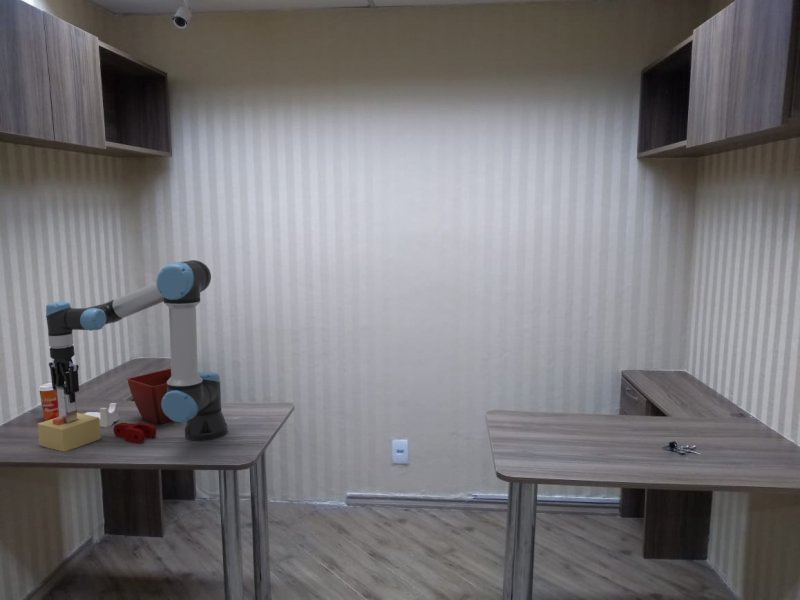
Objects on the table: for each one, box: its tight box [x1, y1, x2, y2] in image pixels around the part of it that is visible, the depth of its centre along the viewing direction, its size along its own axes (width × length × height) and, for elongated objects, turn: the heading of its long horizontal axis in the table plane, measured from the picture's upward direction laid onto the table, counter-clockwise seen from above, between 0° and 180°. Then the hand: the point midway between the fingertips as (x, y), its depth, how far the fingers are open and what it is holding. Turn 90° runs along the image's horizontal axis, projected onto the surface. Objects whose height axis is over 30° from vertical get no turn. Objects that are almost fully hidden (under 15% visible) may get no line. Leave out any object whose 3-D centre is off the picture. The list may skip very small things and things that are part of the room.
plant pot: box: [127, 368, 173, 425], centre depth 241 cm, size 19×19×17 cm
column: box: [56, 384, 78, 424], centre depth 215 cm, size 5×5×21 cm
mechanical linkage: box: [112, 421, 157, 444], centre depth 220 cm, size 16×7×5 cm, turn 67°
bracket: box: [84, 402, 119, 428], centre depth 235 cm, size 13×7×8 cm, turn 81°
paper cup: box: [38, 382, 59, 421], centre depth 241 cm, size 8×8×14 cm
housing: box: [37, 412, 102, 453], centre depth 216 cm, size 14×14×10 cm
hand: (67, 410), depth 215 cm, fingers closed on column, 4 cm apart
